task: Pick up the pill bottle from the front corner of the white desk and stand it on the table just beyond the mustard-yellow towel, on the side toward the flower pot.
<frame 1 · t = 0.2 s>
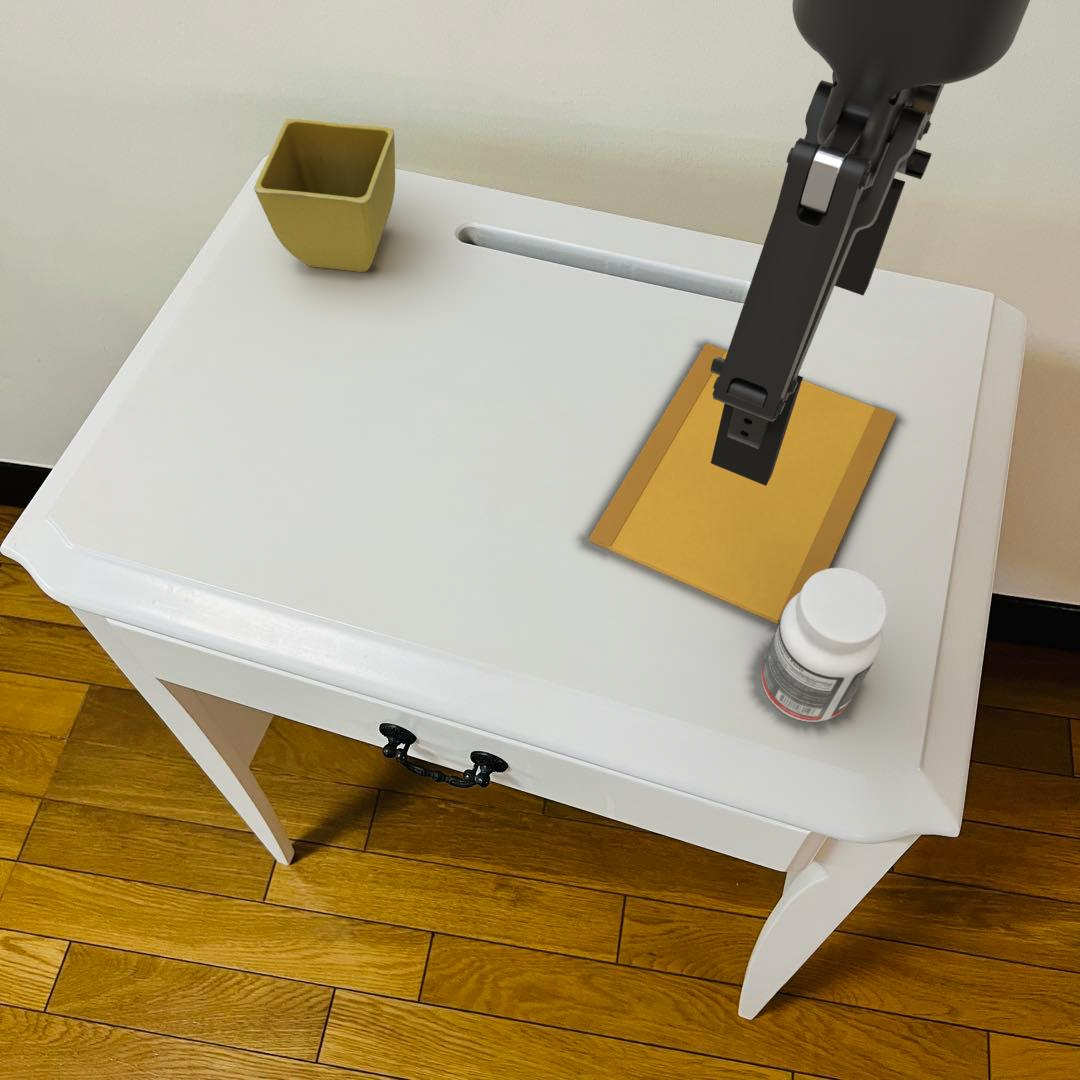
hand: (793, 370, 51), 21 cm above the table, tool pointing down, fingers open, 13 cm apart
flower pot: (344, 252, 86), on the table
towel: (748, 478, 73), on the table
pill bottle: (804, 683, 65), on the table
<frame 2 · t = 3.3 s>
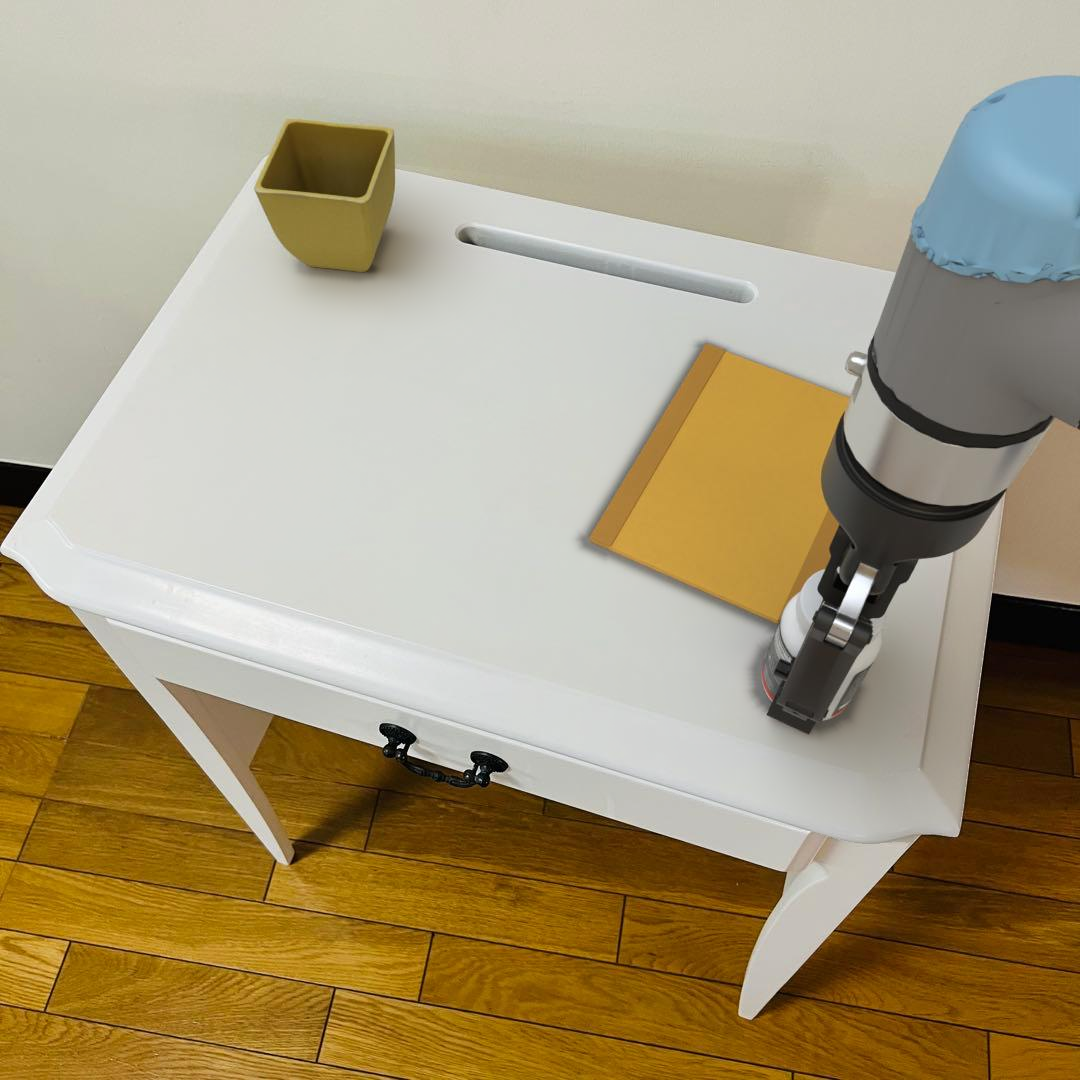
hand: (808, 676, 64), 1 cm above the table, tool pointing down, fingers closed on pill bottle, 6 cm apart
pill bottle: (804, 683, 65), on the table, touching gripper
everything else where it was.
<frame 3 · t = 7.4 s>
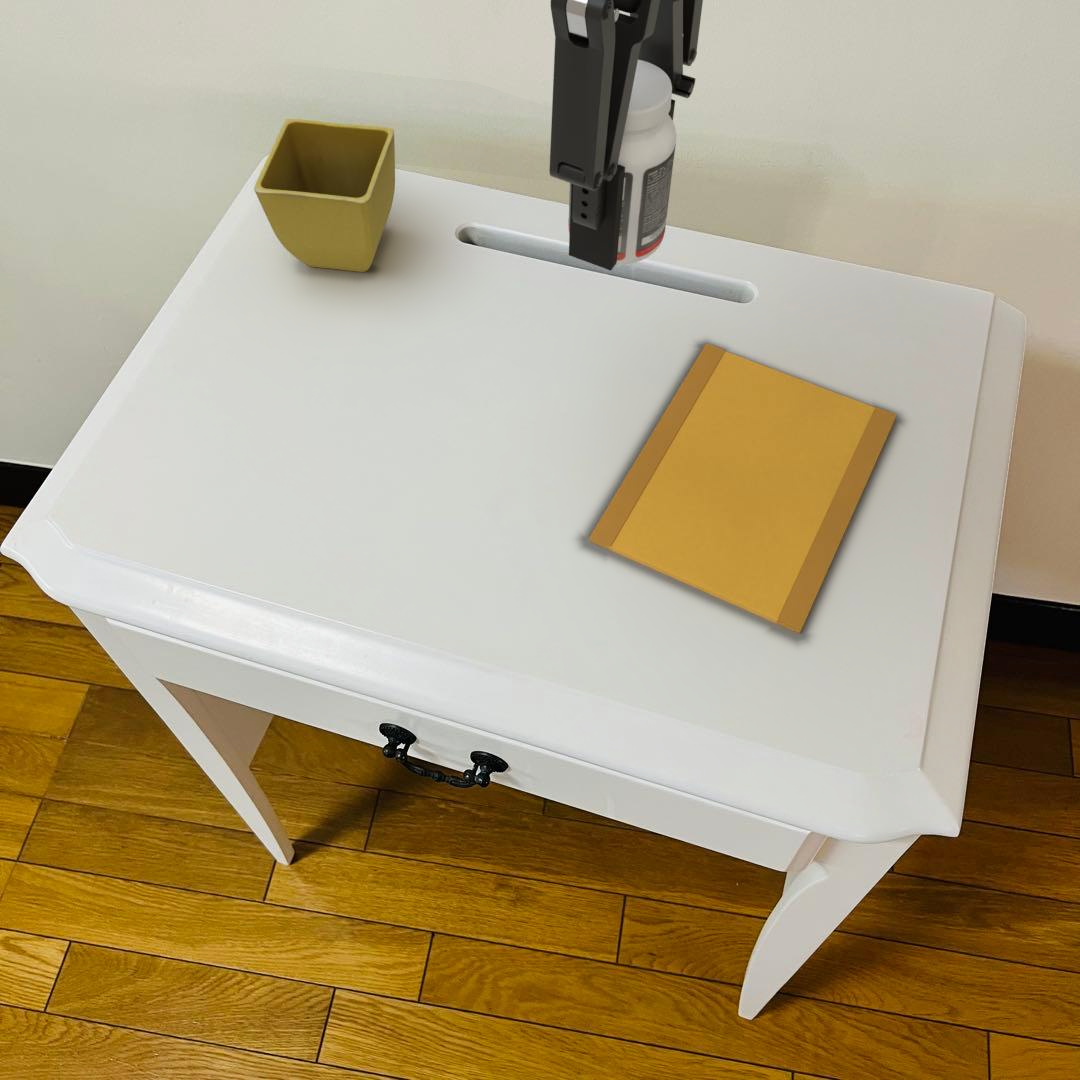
hand: (616, 224, 61), 18 cm above the table, tool pointing down, fingers closed on pill bottle, 6 cm apart
pill bottle: (615, 238, 62), point 17 cm above the table, touching gripper
everything else where it was.
when the fingers open (1 cm above the table, at t = 11.4 s): pill bottle stays where it is, on the table.
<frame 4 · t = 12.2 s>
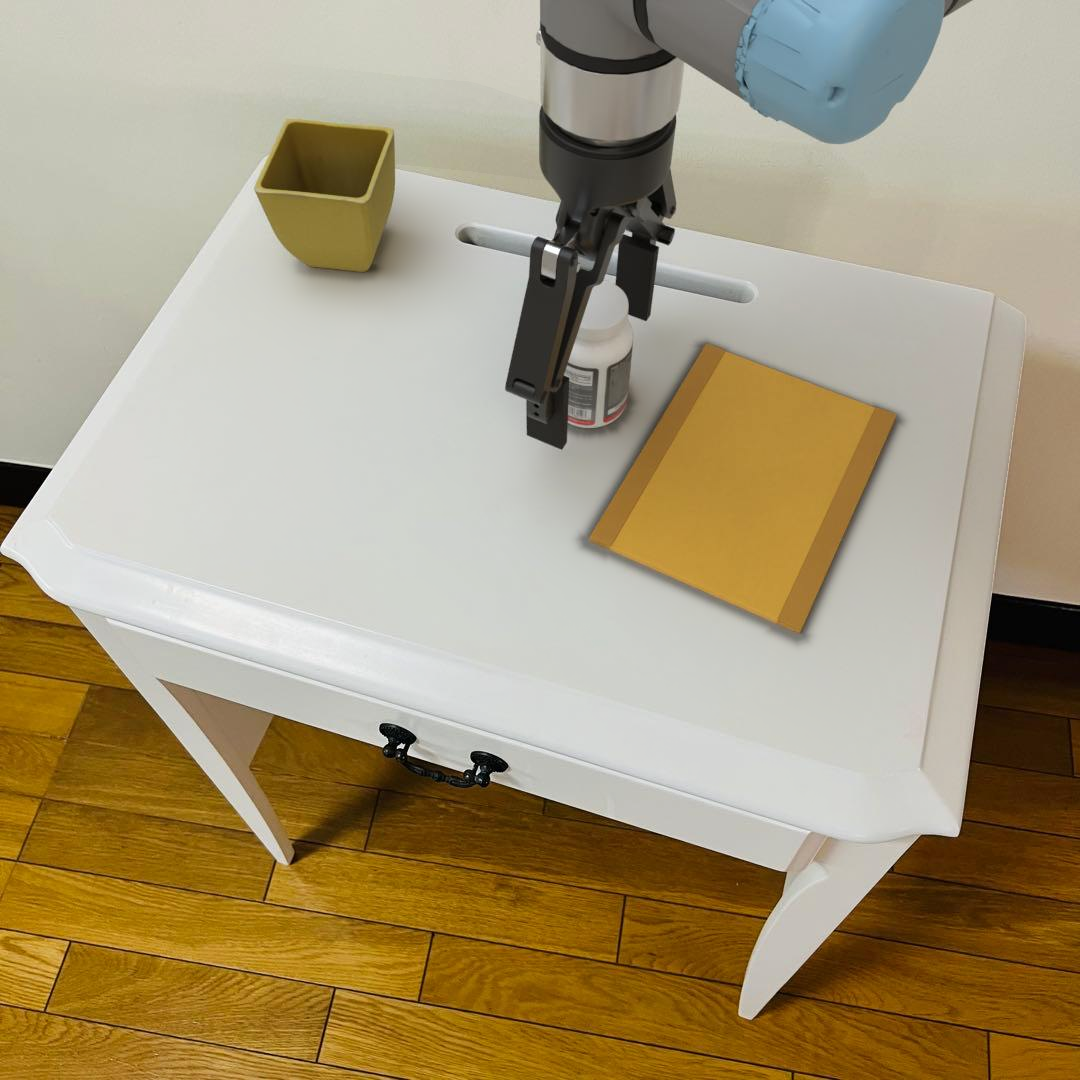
hand: (591, 373, 74), 3 cm above the table, tool pointing down, fingers open, 13 cm apart
pill bottle: (588, 403, 77), on the table
everything else where it was.
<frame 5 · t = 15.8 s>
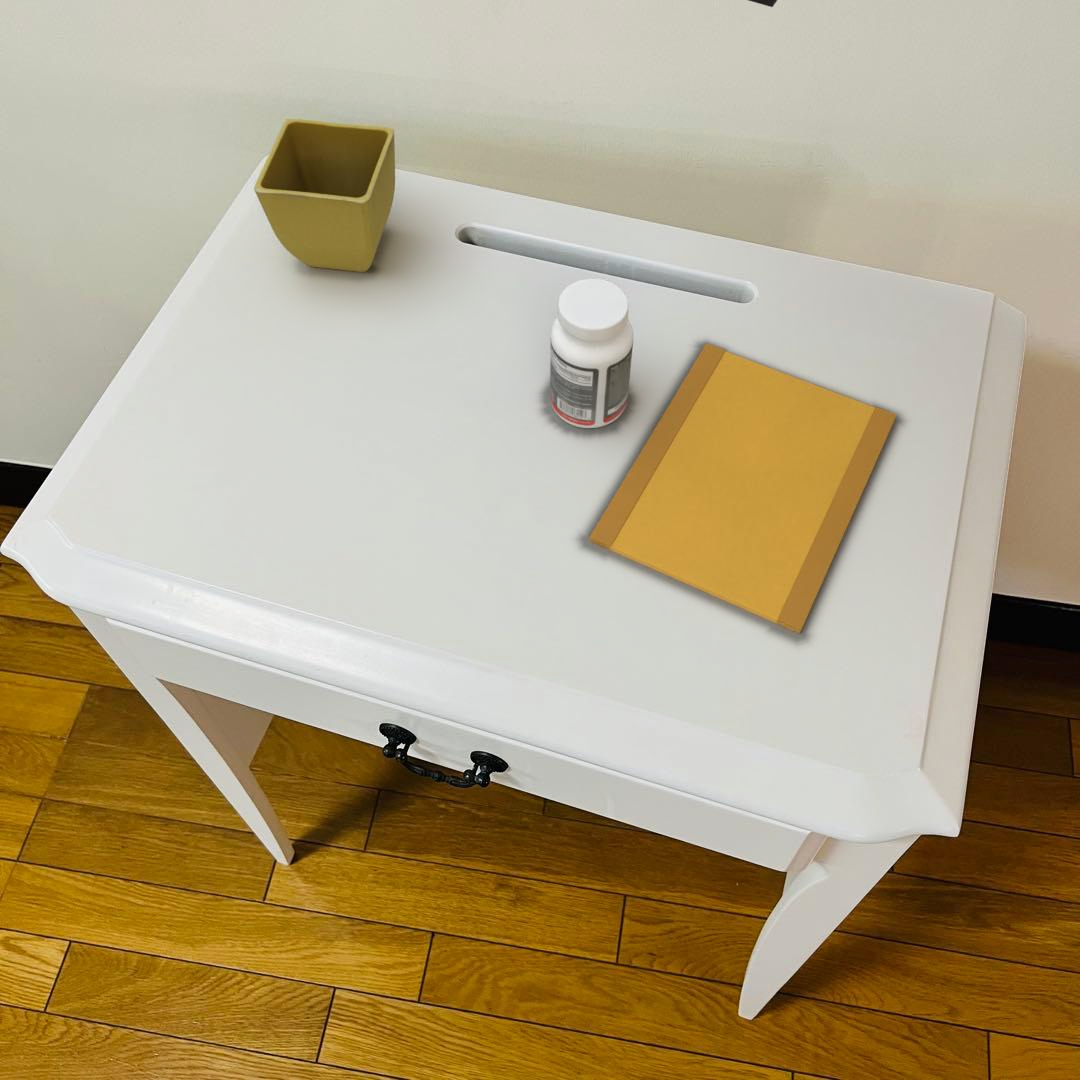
nothing on the table moved.
at the end: pill bottle inside the target area on the table beside the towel (1.7 cm from its centre), on the table; pill bottle tilted 0°; pill bottle 25.4 cm from the flower pot (horizontally) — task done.
